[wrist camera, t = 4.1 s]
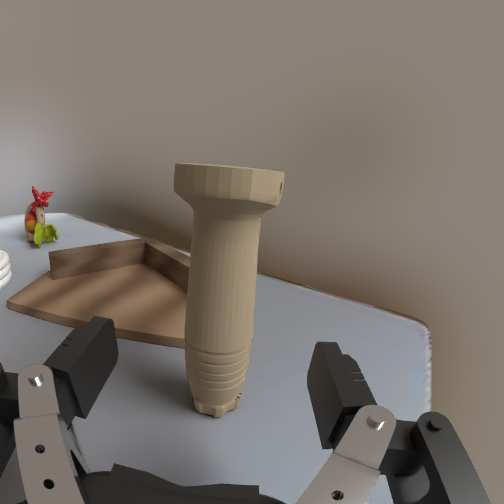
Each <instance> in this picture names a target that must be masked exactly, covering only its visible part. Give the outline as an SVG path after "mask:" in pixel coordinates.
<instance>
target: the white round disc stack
mask: <svg viewBox="0 0 504 504" xmlns="http://www.w3.org/2000/svg"><path fill="white" fill-rule="evenodd" d="M11 277H12V272H11V270H10V263H9V255H8V254H7V253H6V252H5V251H3V250H0V289H1V288H3V287H4V286H5V285H7V284H8V283H9V281H10V280H11Z"/></svg>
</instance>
